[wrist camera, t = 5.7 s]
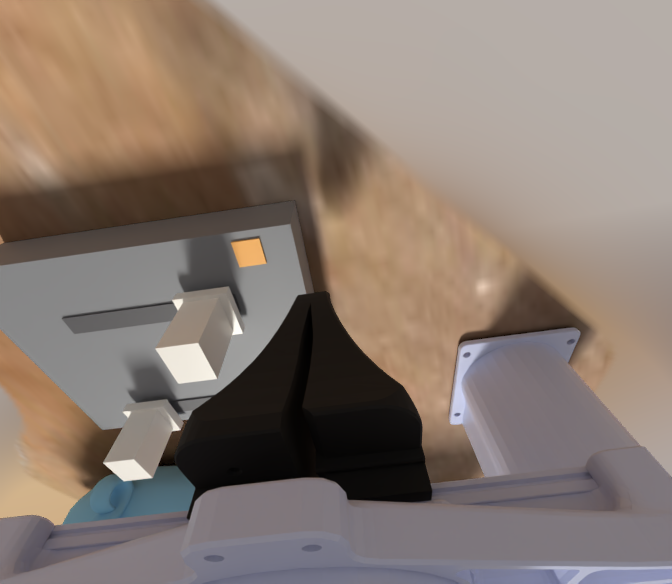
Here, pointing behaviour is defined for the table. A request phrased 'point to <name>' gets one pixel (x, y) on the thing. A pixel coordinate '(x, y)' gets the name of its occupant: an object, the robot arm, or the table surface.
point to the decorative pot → (134, 497)
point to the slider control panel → (147, 301)
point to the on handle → (142, 439)
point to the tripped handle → (200, 334)
